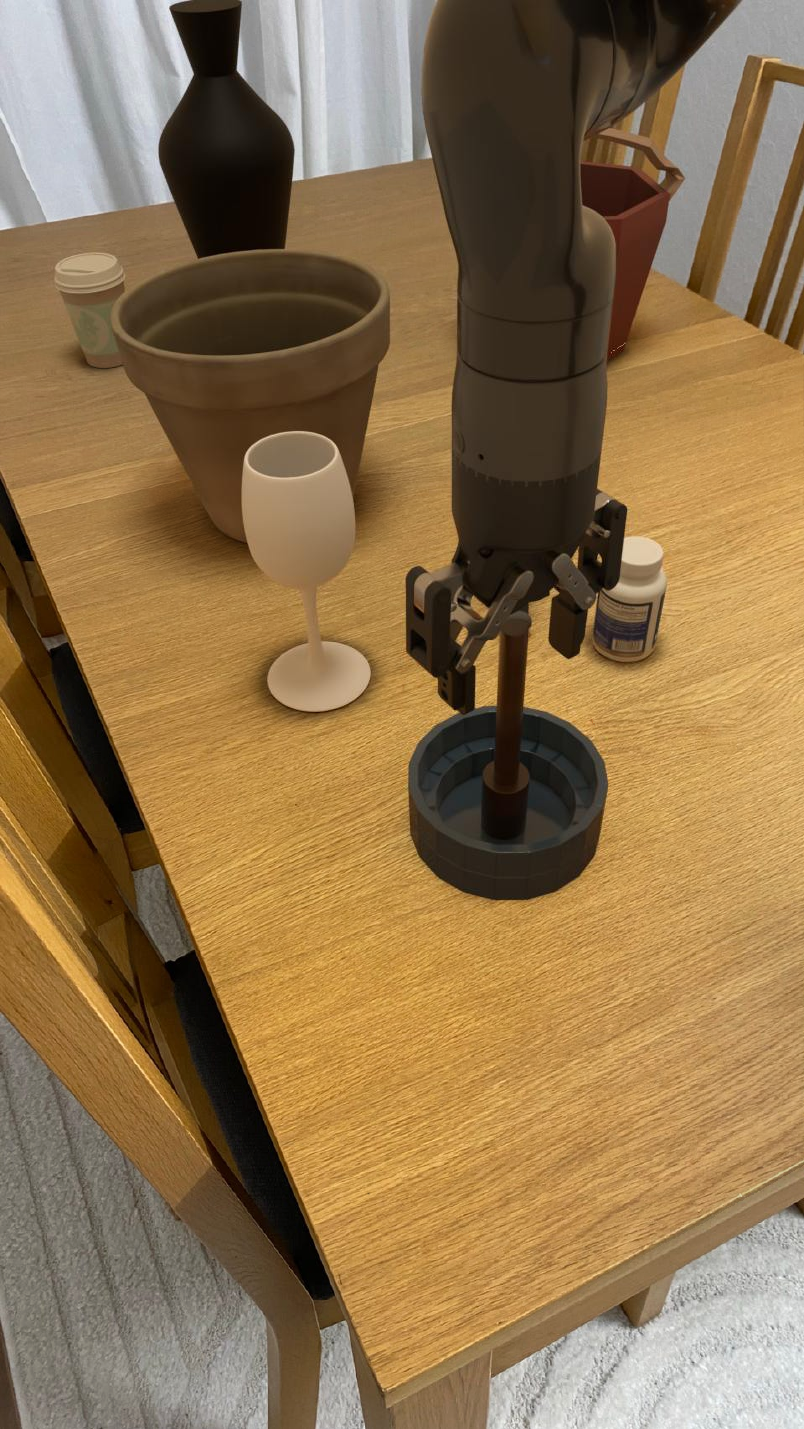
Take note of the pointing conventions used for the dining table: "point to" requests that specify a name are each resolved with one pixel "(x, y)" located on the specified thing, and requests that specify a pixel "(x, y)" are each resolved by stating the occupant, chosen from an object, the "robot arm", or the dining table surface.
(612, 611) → the pill bottle
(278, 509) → the wineglass
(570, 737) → the bowl
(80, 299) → the coffee cup
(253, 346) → the flower pot
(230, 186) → the vase
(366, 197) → the dining table surface
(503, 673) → the muddler
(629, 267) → the bucket
